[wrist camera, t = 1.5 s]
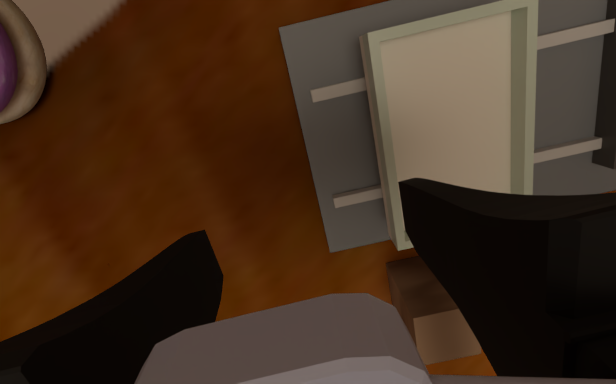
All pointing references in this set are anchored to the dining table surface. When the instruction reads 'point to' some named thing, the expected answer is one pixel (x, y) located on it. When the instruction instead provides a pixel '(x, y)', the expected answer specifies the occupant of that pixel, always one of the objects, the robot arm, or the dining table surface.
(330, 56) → the track
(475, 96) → the cream tray
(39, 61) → the stacking toy
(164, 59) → the dining table surface
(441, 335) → the walnut block
